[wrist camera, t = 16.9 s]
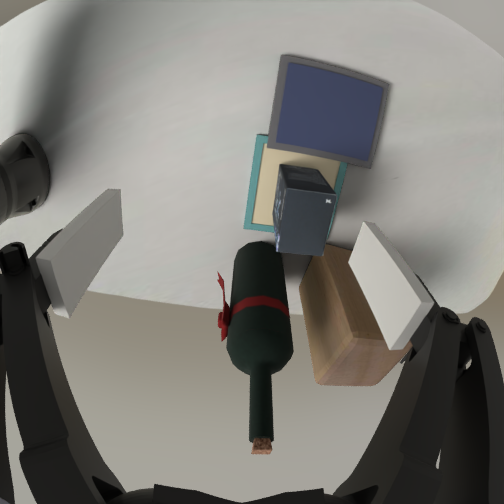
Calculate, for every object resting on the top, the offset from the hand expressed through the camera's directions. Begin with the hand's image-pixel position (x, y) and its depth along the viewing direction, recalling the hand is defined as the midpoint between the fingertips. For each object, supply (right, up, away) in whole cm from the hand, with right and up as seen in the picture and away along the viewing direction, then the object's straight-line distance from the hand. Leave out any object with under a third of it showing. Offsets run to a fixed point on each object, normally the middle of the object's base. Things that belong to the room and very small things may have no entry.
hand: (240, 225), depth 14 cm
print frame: (+7, +8, +24) cm, 26 cm away
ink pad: (+11, +17, +18) cm, 27 cm away
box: (+7, +7, +24) cm, 26 cm away
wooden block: (+14, -4, +32) cm, 35 cm away
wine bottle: (0, -3, +31) cm, 31 cm away
